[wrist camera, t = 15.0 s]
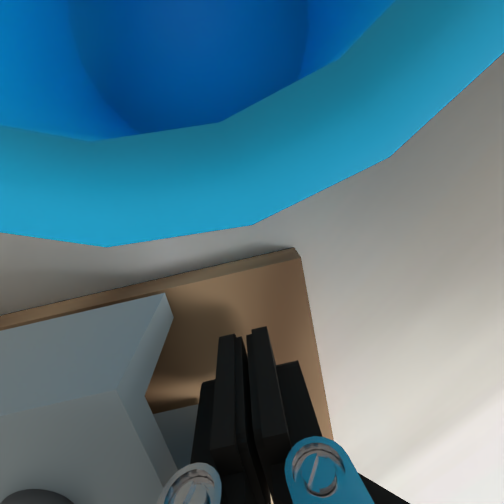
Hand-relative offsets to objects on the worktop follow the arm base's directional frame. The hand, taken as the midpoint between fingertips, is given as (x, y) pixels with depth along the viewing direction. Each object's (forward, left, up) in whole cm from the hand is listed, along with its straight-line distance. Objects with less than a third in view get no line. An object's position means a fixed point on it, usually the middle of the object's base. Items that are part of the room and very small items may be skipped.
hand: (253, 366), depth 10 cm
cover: (+5, 0, -1) cm, 5 cm away
